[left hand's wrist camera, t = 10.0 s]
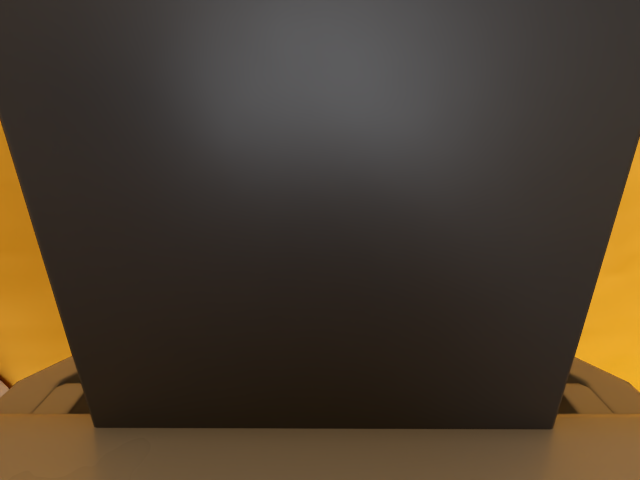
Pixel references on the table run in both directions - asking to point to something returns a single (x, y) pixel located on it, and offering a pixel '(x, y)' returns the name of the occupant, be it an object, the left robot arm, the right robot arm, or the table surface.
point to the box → (322, 201)
